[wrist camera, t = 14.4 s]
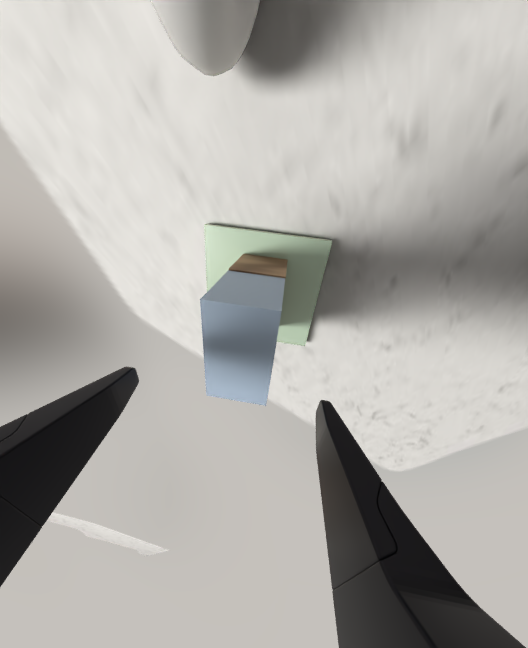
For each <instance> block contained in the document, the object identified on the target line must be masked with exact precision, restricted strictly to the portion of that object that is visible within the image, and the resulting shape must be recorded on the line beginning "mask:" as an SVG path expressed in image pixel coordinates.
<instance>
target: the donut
mask: <svg viewBox="0 0 528 648" xmlns="http://www.w3.org/2000/svg"><path fill="white" fill-rule="evenodd" d="M151 3H152V5H153V7H154V9H155V12H156V14H157V16H158V18H159V20H160V22H161V24H162V25H163V27H164V29H165V31H166V33H167V35H168V37H169V39H170V41H171V42H172V44H173V46H174V48H175V49H176V50H177V51H178V53H179V54H180V55H181V57H182V58H183V59H184V60H186V61H187V62H188V63H189V64H191V65H192V66H193V67H195V68H196V69H197V70H199V71H200V72H202V73H203V74H205V75H210V76H216V75H219V74H222V73H224V72H226V71H228V70H230V69H232V68H233V66H234V65H235V64H236V63H237V62H238V61H239V59H240V57H241V55H242V53H243V51H244V49H245V47H246V45H247V43H248V40H249V38H250V35H251V32H252V29H253V25H254V22H255V19H256V16H257V12H258V7H259V3H260V0H151Z"/></svg>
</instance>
